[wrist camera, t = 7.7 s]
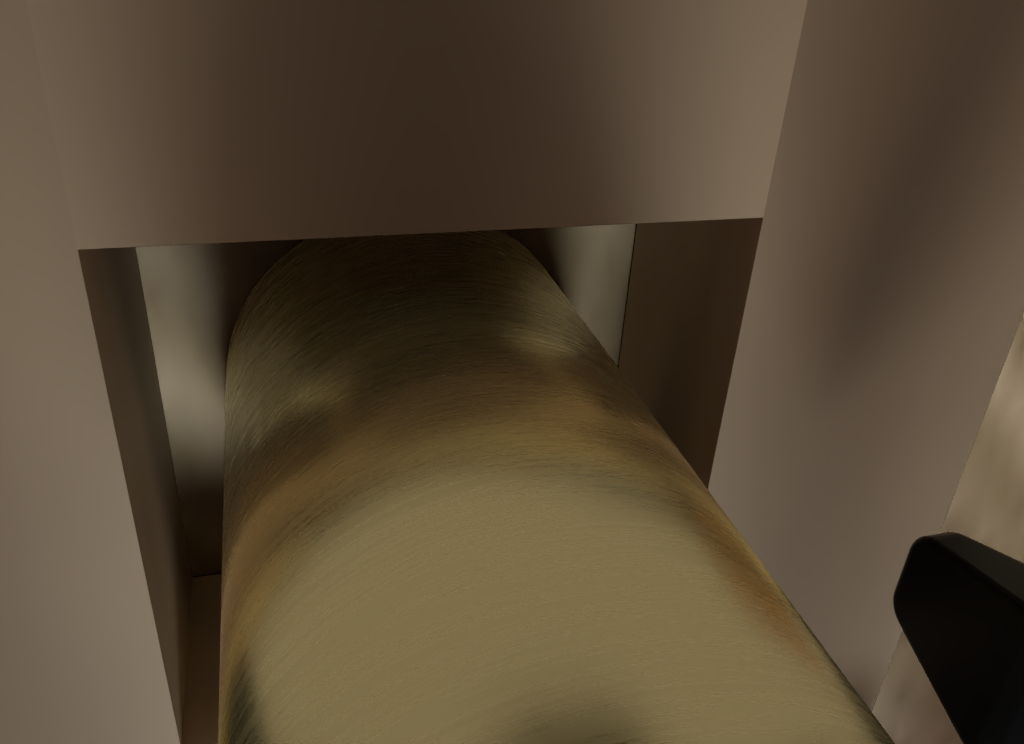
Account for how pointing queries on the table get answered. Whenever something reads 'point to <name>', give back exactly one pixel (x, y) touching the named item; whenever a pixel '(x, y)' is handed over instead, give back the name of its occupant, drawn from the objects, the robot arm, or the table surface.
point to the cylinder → (480, 526)
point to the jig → (500, 206)
